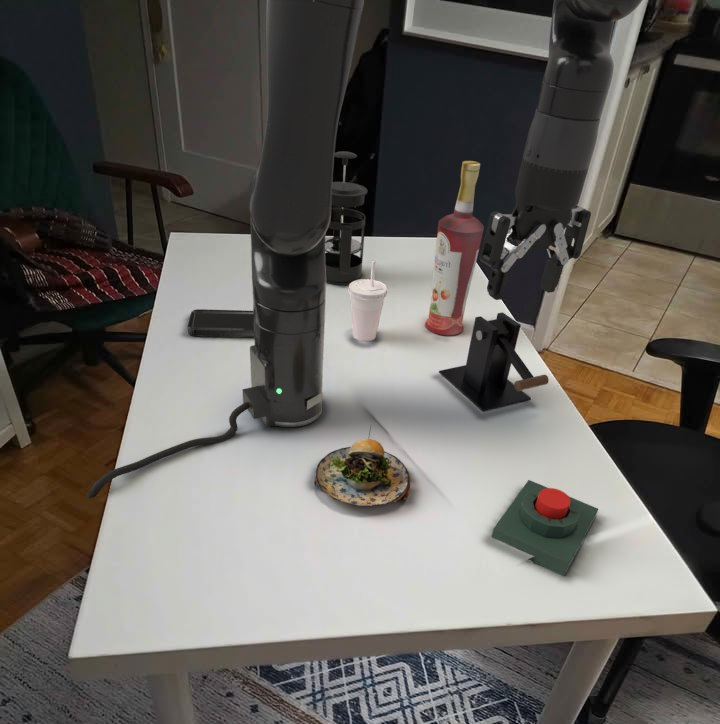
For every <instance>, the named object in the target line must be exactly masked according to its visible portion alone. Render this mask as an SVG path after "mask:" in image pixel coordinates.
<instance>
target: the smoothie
mask: <svg viewBox="0 0 720 724" xmlns="http://www.w3.org/2000/svg"><path fill="white" fill-rule="evenodd" d="M376 263H377V262H376V260H374V259H373V260H372V261H371V270H370V278H362V279H360V280H355V281H353V282H351V283H350V284H349V285H348V290H347V292H348V294H349V296H350V307H351V308H350V309H351V326H352V337H353V338H354V339H355V340H357V341H360V342H371V341H374V340H375V339H376V337H377V333H378V329H379V325H380V321H381V316H382V312H383V308H384V303H385V298H386V297H387V296H388V289H389V288H388V286H387V285H386V284H385V283H383V282H381V281H379V280H375V275H376Z"/></svg>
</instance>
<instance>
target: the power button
mask: <svg viewBox="0 0 720 724" xmlns="http://www.w3.org/2000/svg"><path fill="white" fill-rule="evenodd" d="M569 497H570V495H568V494H567V493H566V492H564V491H563V490H561V489H558V488H553V487H547V488H546V489H543V490H541V491H540V492H539V495H538V498H537V501H536V504H535V508H536V511H537V512H538V513H539V514H540V515H542V516H544V517H547V518H549V519H557V520H560V519H562V518H564V517H565V516H566V514H567V511H568V508H569V506H570V498H569Z"/></svg>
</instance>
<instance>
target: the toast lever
mask: <svg viewBox="0 0 720 724" xmlns="http://www.w3.org/2000/svg"><path fill="white" fill-rule="evenodd" d="M487 321H488V322H489V323H491V324H492V325H493V326H495V327H496V328H498V329H499V330H498V335H497V339H496V343H495V345H499V347H500V348H501V349H502V351H503V352H504V354H505V355H506V356H507V358H508V359H509V361H510V362H511V366H513V368H514V369H515V371H516V372H517V374H518V375H519V376H520V378H521V379H520V380H516V381H515V382H514V383H513V384H514V387H515V389H516V390H517V391H525V390H530V389H534V388H538V387H542V386H546V385H548V384H549V381H550V379H549V377H548V375H547V374H540V375H536V376H534V375H533V374H532V372H531V371H530V370H529V368H528V367H527V365H526V363H525V362H524V361H523V360H522V358H521V357H520V355H519V354H518V353H517V351H516V349H515V350H514V349H513V347H512V346H511V344H510V343H509V342H508V340H507V339H506V337H507V336H508V334H509V330H508V329H507V328H506V326H505V325H504V324H503V322H502V321H501V319H490V320H487Z"/></svg>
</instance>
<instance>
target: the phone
mask: <svg viewBox="0 0 720 724" xmlns="http://www.w3.org/2000/svg"><path fill="white" fill-rule="evenodd" d="M188 319H189V320H188V322H187V334H188V335H189V336H193V337H221V338H222V337H223V338H224V337H225V338H227V337H228V338H254V312H253V310H241V309H240V310H236V309H205V308H204V309H202V308H200V309H199V308H198V309H197V308H196V309H193V310H191V312H190V316H189V318H188Z"/></svg>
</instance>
